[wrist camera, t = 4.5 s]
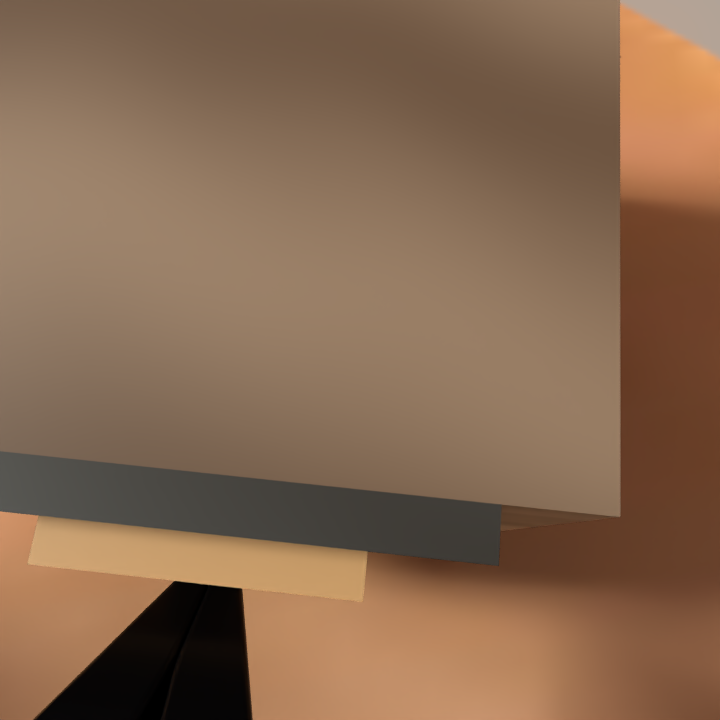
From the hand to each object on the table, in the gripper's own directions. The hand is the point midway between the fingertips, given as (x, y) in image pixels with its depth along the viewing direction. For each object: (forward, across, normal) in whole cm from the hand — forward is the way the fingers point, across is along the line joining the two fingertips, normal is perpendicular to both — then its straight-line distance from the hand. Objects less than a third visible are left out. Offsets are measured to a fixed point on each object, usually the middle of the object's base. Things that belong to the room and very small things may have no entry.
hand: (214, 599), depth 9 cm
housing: (+10, 0, +1) cm, 10 cm away
